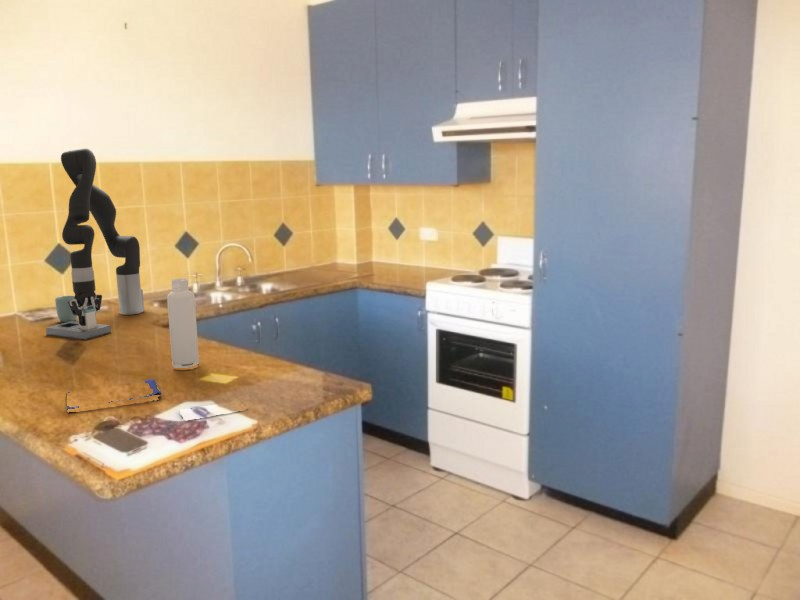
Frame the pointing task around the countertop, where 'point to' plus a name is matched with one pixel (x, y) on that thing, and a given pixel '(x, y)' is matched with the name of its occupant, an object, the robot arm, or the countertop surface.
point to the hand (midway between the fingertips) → (88, 324)
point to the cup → (64, 309)
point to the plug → (89, 319)
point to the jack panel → (77, 331)
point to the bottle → (182, 325)
